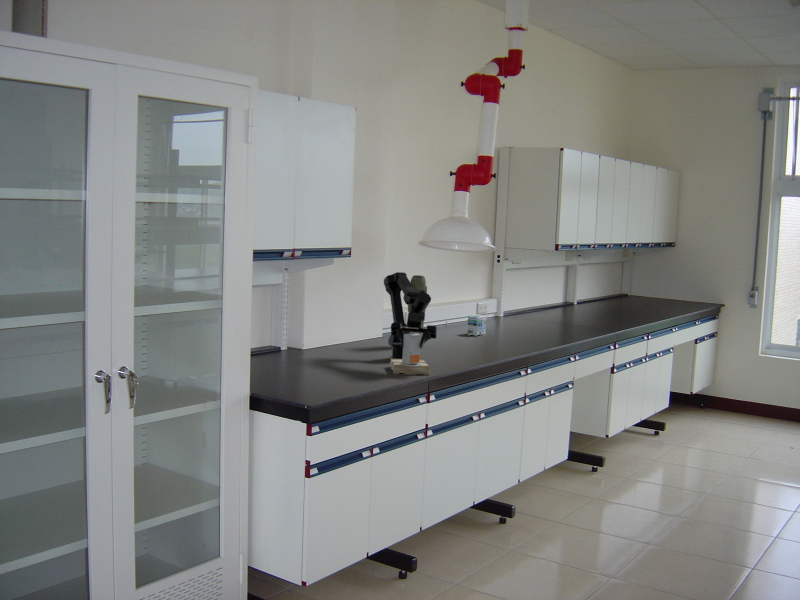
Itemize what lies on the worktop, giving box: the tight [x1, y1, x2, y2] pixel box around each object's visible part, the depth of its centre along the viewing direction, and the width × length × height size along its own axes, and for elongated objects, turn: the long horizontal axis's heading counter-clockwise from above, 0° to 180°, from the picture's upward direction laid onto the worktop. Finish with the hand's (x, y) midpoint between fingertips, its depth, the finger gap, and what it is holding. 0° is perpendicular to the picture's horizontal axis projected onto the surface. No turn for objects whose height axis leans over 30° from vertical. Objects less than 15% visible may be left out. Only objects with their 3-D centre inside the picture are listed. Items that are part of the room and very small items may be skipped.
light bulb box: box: [466, 314, 488, 335], centre depth 417 cm, size 11×7×11 cm, turn 147°
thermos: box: [406, 274, 428, 348], centre depth 367 cm, size 9×12×35 cm
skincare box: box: [402, 333, 421, 364], centre depth 304 cm, size 6×4×12 cm
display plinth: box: [389, 358, 430, 376], centre depth 308 cm, size 15×14×4 cm
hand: (411, 347), depth 302 cm, fingers closed on skincare box, 7 cm apart
